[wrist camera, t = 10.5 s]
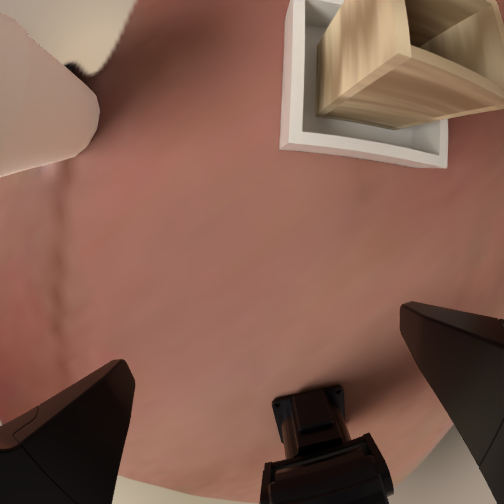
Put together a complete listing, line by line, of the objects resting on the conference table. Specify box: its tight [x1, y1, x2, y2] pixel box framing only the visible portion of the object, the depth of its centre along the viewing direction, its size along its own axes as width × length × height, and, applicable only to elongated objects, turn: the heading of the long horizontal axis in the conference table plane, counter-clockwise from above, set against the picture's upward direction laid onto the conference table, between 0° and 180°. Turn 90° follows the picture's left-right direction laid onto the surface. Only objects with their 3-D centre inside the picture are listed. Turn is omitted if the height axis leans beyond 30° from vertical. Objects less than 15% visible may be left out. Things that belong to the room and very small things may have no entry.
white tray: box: [279, 0, 448, 169], centre depth 16 cm, size 10×10×4 cm
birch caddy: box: [315, 0, 504, 130], centre depth 12 cm, size 6×6×12 cm
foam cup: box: [0, 12, 100, 177], centre depth 12 cm, size 10×9×13 cm
